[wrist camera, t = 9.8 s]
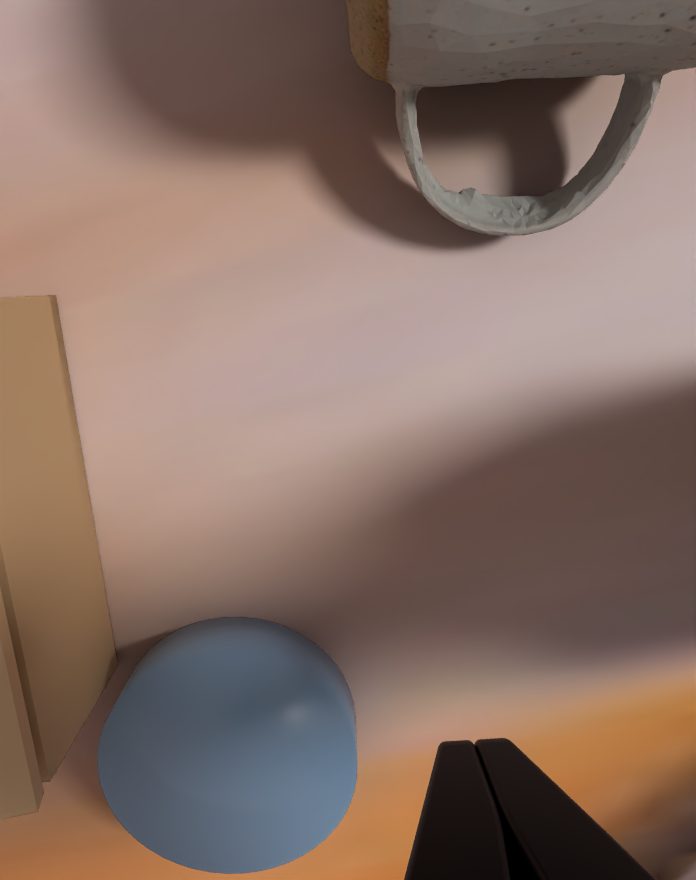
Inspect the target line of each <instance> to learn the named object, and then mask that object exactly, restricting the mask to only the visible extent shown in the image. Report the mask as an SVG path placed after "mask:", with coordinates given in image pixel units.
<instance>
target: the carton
mask: <svg viewBox="0 0 696 880" xmlns="http://www.w3.org/2000/svg"><path fill="white" fill-rule="evenodd" d="M0 588H1V593H2V598H3V602H4V607H5V612H6V617H7V621H8V626H9V631H10V635H11V640H12V645H13V650H14V654H15V659H16V664H17V668H18V673H19V678H20V683H21V687H22V692H23V697H24V701H25V706H26V711H27V716H28V720H29V725H30V730H31V735H32V739H33V744H34V749H35V753H36V758H37V763H38V768H39V772H40V777H41V782H50V781H51V779H52V777H53V776H54V774H55V772H56V770H57V769H58V767H59V765H60V764H61V762H62V760H63V758H64V757H65V755H66V753H67V752H68V750H69V748H70V746H71V745H72V743H73V741H74V740H75V738H76V736H77V734H78V733H79V731H80V729H81V728H82V726H83V724H84V723H85V721H86V719H87V717H88V716H89V714H90V712H91V711H92V709H93V707H94V705H95V704H96V702H97V700H98V699H99V697H100V695H101V693H102V692H103V690H104V688H105V687H106V685H107V683H108V681H109V680H110V678H111V676H112V675H113V673H114V671H115V669H116V668H117V666H118V663H117V657H116V651H115V645H114V639H113V633H112V627H111V622H110V616H109V610H108V604H107V598H106V592H105V586H104V580H103V574H102V568H101V562H100V556H99V550H98V544H97V538H96V532H95V526H94V520H93V514H92V508H91V502H90V496H89V490H88V484H87V478H86V472H85V466H84V460H83V454H82V448H81V442H80V436H79V431H78V425H77V419H76V413H75V407H74V401H73V395H72V389H71V383H70V377H69V371H68V365H67V359H66V353H65V347H64V341H63V335H62V329H61V323H60V317H59V311H58V305H57V299H56V295H49V296H25V297H2V298H0Z"/></svg>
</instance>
